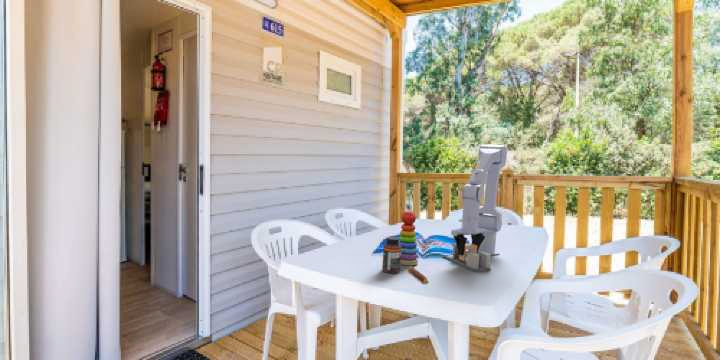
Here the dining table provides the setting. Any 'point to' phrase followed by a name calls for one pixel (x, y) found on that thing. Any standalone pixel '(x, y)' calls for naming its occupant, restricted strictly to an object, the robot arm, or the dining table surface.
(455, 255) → the shaft
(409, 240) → the stacking toy
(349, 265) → the dining table surface
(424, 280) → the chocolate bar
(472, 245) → the block
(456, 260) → the rail
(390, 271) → the supplement bottle
